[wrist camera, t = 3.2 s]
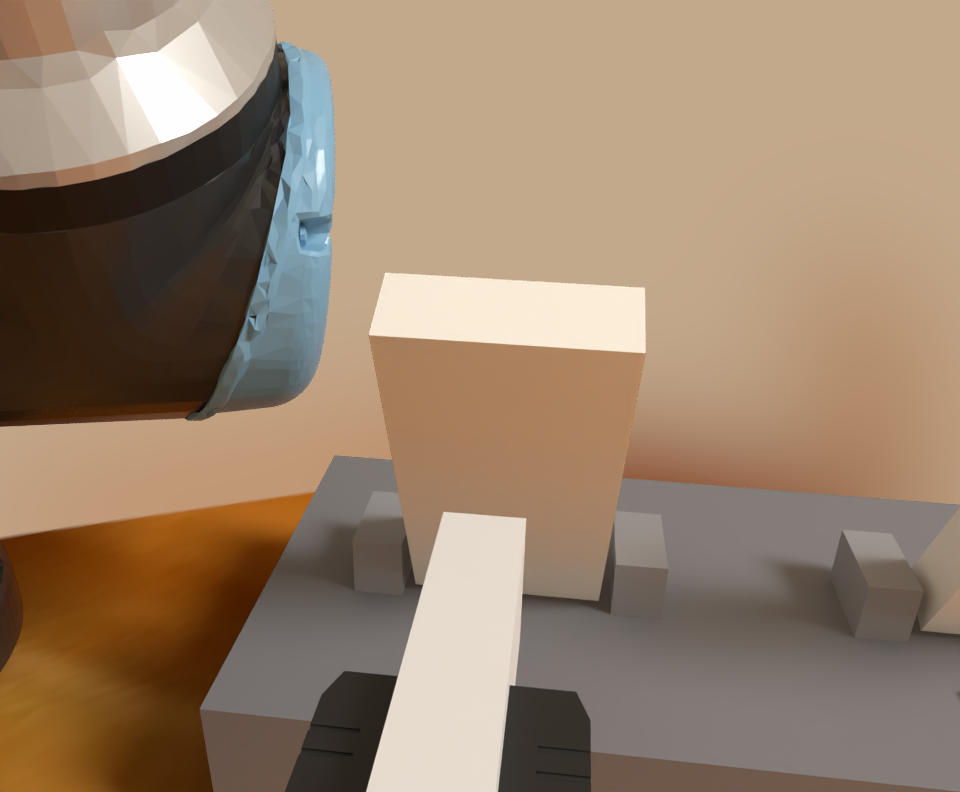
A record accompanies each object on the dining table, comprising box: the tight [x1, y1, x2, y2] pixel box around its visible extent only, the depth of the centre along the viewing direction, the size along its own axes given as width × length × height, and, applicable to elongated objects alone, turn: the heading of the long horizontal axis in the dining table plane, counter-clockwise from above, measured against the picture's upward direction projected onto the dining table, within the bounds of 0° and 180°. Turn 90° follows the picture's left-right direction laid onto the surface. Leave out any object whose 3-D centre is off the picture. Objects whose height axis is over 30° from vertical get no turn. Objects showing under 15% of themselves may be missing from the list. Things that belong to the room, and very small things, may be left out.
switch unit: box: [199, 456, 960, 792], centre depth 29 cm, size 14×32×8 cm, turn 83°
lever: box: [369, 273, 646, 601], centre depth 23 cm, size 2×6×12 cm, turn 84°
